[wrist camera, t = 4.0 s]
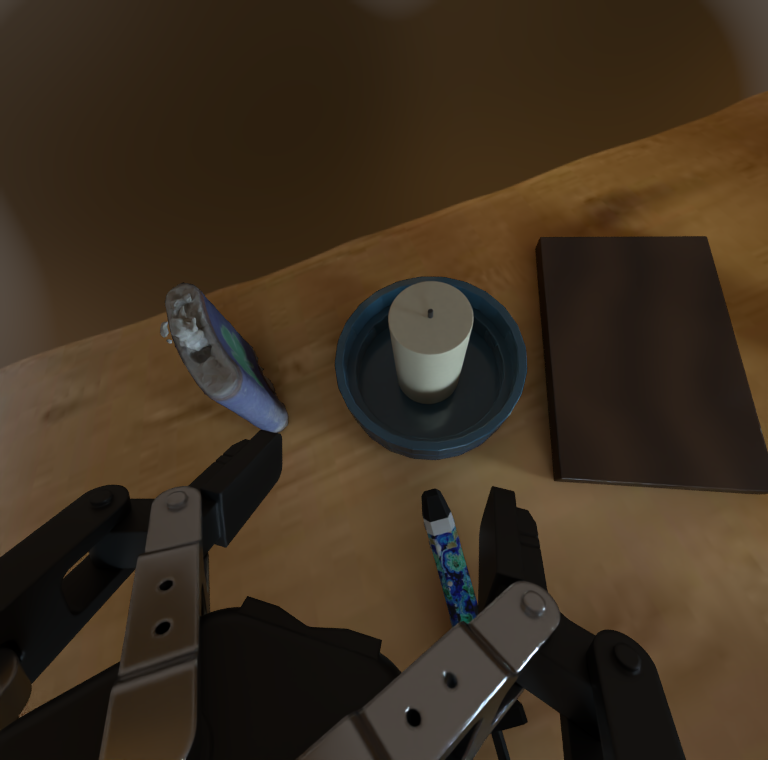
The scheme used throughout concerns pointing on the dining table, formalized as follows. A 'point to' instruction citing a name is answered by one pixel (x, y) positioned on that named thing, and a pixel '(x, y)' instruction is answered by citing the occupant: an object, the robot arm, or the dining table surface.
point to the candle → (429, 339)
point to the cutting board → (645, 367)
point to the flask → (221, 359)
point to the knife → (459, 589)
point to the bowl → (443, 419)
